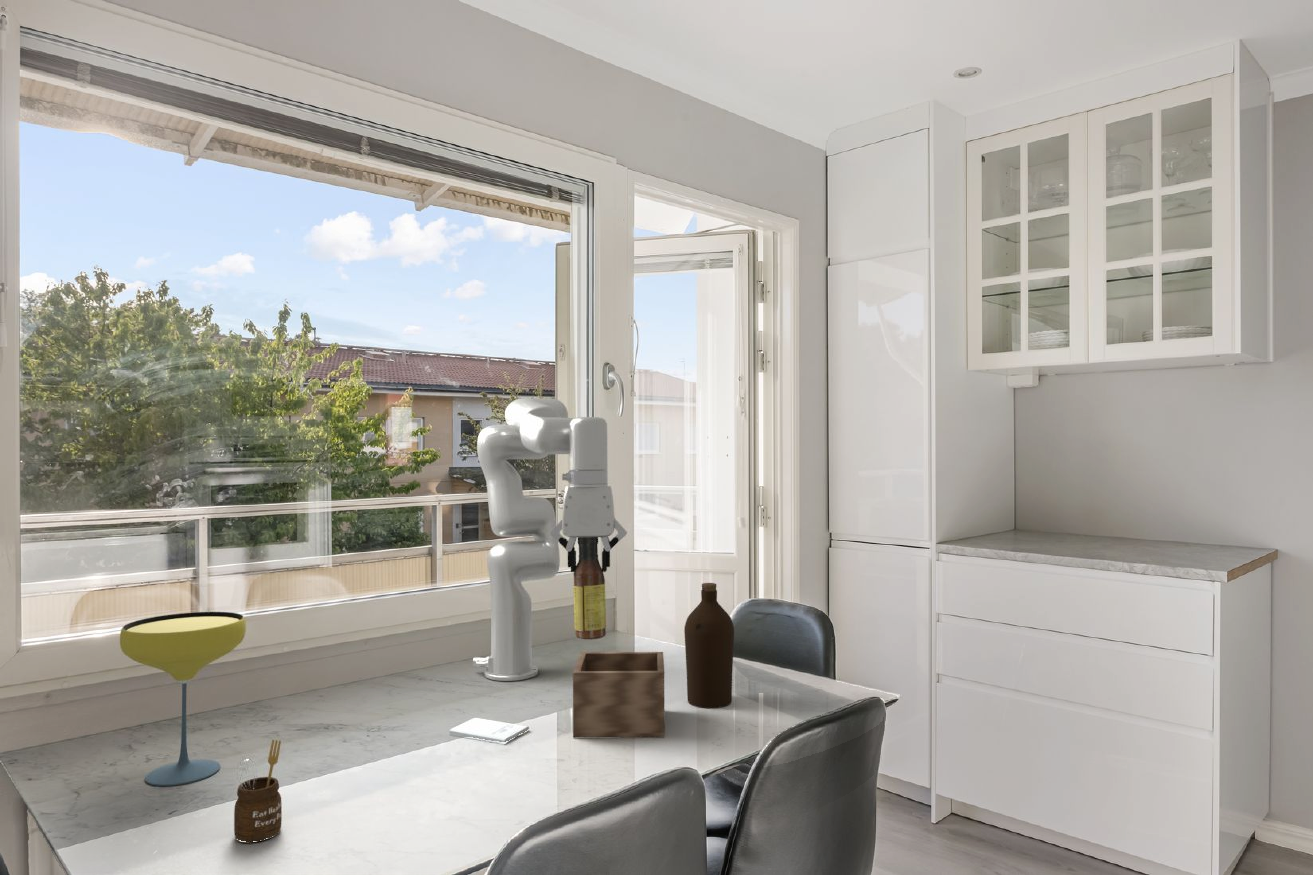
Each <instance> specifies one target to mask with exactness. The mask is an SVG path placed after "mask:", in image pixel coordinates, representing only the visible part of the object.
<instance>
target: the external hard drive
mask: <svg viewBox="0 0 1313 875" xmlns="http://www.w3.org/2000/svg"><path fill="white" fill-rule="evenodd" d="M528 729H529V730H530V726H527V725H520V724H515V723H508V722H504V721H498V720H492V719H485V718H479V717H474V718H471V719H469V720H466V721H465V722H463V723H460V724H459V725H457V726H454V727H452V728H450V729H449V736H452V737H457V736H458V738H463V737H473V738H479V739H485V740H491V741H499V742H506V741H509V740H510V739H512V738H514V737H516V736H518V735H519V734H521V733H524V732H525V731H527V730H528ZM524 734H525V733H524ZM518 737H519V736H518ZM516 738H517V737H516Z"/></svg>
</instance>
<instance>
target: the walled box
mask: <svg viewBox="0 0 1313 875" xmlns="http://www.w3.org/2000/svg"><path fill="white" fill-rule="evenodd" d="M572 697H573V698H572V737H620V738H619V739H621V738H625V739H627V738H630V739H634V738H645V739H646V738H648V739H649V738H665V730H666V729H665V723H666V722H665V712H666V711H665V660H664V651H586V652H585V651H583V652H582V651H581V652H579V656H578V658H577V661H576V664H575V667H574V670H573V673H572Z"/></svg>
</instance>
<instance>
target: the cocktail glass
mask: <svg viewBox="0 0 1313 875" xmlns="http://www.w3.org/2000/svg"><path fill="white" fill-rule="evenodd" d="M246 629H247V624H246V618H245V616H244V615H243V614H240V613H237V612H229V611H197V612H195V611H194V612H193V611H192V612H182V613H172V614H165V615H159V616H152V617H147V618H142V619H139V620H134V621H132V622H128V623H126V624H125V625H123V626H122V628H121V629H120V635H119V645H120V649H121V652H122V653H123V654H124V655H125V656H126V657H128V658H129V659H131V660H132V661H134V662H137V663H139V664H142V665H145V666H148V667H151V668H154V669H158V670H161V671H163V672H166V673H167V674H169V675H170V676H171V677H172V678H173V679H174V680H175V681H176V682H177V683H179V684H180V685H181V690H182V691H181V693H182V694H181V733H180V735H181V736H180V737H181V739H180V751H179V756H178V761H177V762H172V763H169V764H165V765H163V766H160V767H157V768H154V769H153V770H151V771H150V772H148V773H146V776H145V777H144V780H145V783H147V784H148V785H151V786H155V787H175V786H182V785H187V784H191V783H195V782H198V781H199V782H200V781H202V780H204V779H208V778H209V776H210V777H212V776H213V775H215V774H217V773H218V772H219V770H220V769H221V764H220V762H219V761H216V760H213V759H204V758H203V759H202V758H199V759H189V756H188V755H189V754H188V744H187V743H188V742H187V687H188V686H187V684H188V683H190V682H191V681H192V680H193V679H195V678H194V677H195V676H196V675H197V674H198V673H199V672H200V670H201V669H203V668H204V667H206V666H207V665H209V664H211V663H212V662H214V661H217V660H218V659H220V658H222V657H224V656H226V655H227V654H229V653H230V652H232V651H233V650H235V648H237V647H238V646H239V645H241V643H242V642H243V641H244V638H245V635H246V631H247V630H246ZM207 777H208V778H207Z"/></svg>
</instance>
